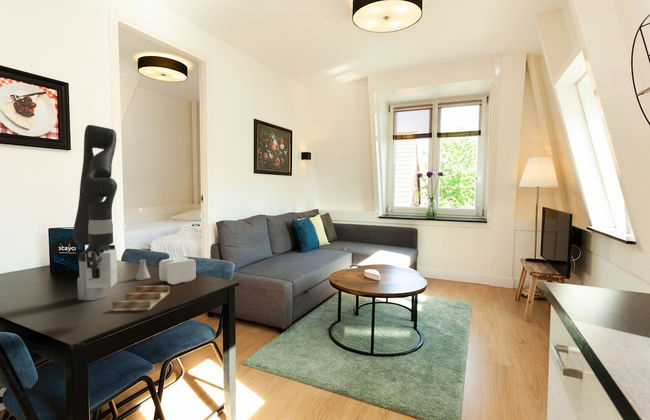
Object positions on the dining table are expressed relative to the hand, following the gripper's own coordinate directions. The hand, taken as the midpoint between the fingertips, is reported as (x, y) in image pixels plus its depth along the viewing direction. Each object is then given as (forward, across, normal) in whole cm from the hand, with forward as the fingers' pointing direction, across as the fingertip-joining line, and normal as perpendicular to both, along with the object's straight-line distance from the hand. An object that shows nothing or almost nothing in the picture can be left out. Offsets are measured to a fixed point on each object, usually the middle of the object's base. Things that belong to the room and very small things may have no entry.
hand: (101, 275), depth 123 cm
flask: (+17, -54, -10) cm, 57 cm away
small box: (+4, 0, 0) cm, 4 cm away
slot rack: (+16, -18, +6) cm, 25 cm away
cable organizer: (+17, -48, +10) cm, 52 cm away
